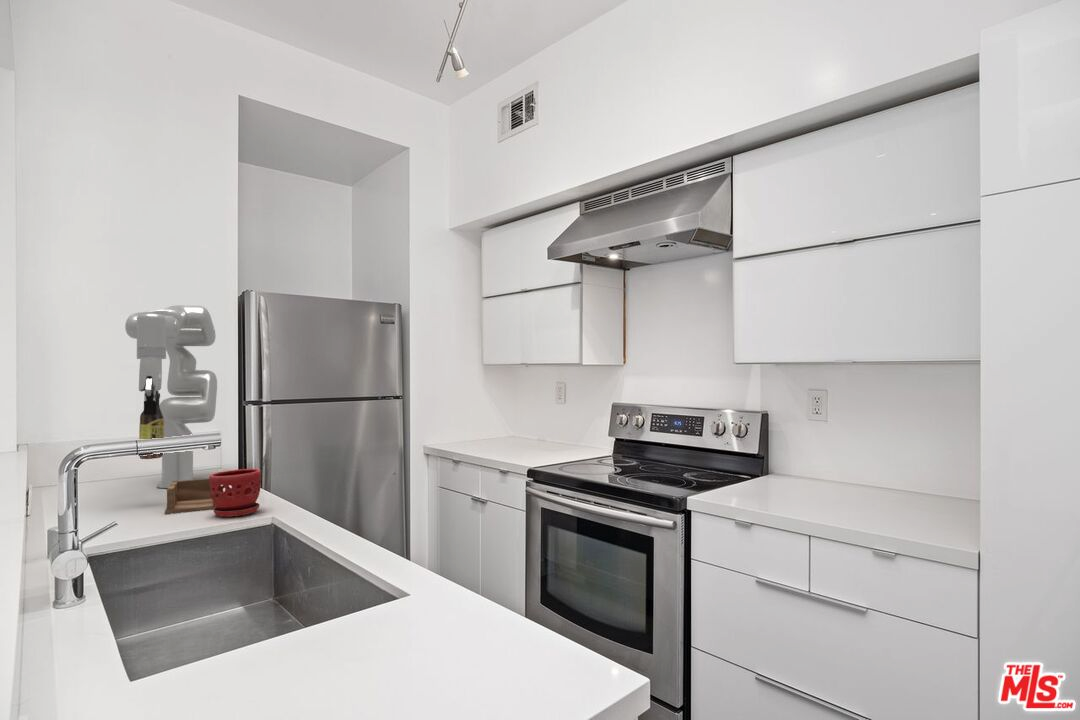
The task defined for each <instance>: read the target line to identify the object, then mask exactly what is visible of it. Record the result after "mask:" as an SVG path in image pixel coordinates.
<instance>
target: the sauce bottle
mask: <svg viewBox="0 0 1080 720" xmlns="http://www.w3.org/2000/svg"><path fill="white" fill-rule="evenodd" d="M143 395H145V393H143ZM160 398H161V393H160V392H159V393H156V401H157V414H150V415H145V414H144V409H143V410H142V412H141V413H140V415H139V425H138V426H139V432H138V435H139V437H138V439H152V438H164V418H163V415H162V412H161V410H160ZM162 456H163V453H160V454H153V455H147V456H140V455H139V458H140V459H141V460H153V459H160V458H162Z"/></svg>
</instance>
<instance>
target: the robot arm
mask: <svg viewBox="0 0 1080 720" xmlns="http://www.w3.org/2000/svg"><path fill="white" fill-rule="evenodd" d="M124 328H125V332H126V334H127V335H128V337H130V338H131V339H136V360H139V369H138V370H139V374H138V378H139V379H138V391H139V392H144V394H145V395H144V394H143V395H144V398H143V399H144V400H143V410H144V414H145V415H150V414H157V401H156V393H160V392H159V391H161V390H162V382H163V381H162V380H163V369H162V367H163V361H162V360H166V359H167V355H168V358H169V367H168V373H167V382H166V383H167V385H166V386H167V387H166V388H167V392H168V394H170V395H171V396H172V397H168V398H165V399H162V401H161V402H159V405H160V410H161V412H162V415H163V418H164V437H172V436H182V435H190V434H192V435H193V433H192V431H191V429H189V427H187V424H198V423H199V424H200V423H203V424H204V423H209V422H211V421H213V419H214V418H215V415H216V408H217V407H216V406H217V394H218V379H217V375H216V373H215V372H213V371H212V370H206V369H205V370H203V369H200V370H199V369H198V370H197V358H196V357H195V356H194V354H193V353H191V352H190V351H189V350H188V349H187V348H186V347H209V346H212V345H213V344H214V343H215V341H216V330H215V329H216V328H215V327H214V323H213V320H212V316H211V314H210V311H208V309H207V308H206V307H204V306H202V305H183V304H181V305H179V304H178V305H177V304H175V305H171V306H168V307H166V308H163V309H162V308H161V309H154V310H148V311H141V312H140V311H139V312H134V313H133V314H130V315H129V316H128V317H127V319H126V321H125V327H124ZM173 396H174V397H173ZM184 480H196V478H194V450H193V451H185V452H174V453H164V454H163V456H162V457H161V482H160V481H159V482H157V483H156V488H159V489H168V487H169V486H170V484H171V483H172V481H184Z"/></svg>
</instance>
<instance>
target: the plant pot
mask: <svg viewBox="0 0 1080 720" xmlns="http://www.w3.org/2000/svg"><path fill="white" fill-rule="evenodd" d="M261 471H262V470H260V469H259V468H241V469H240V468H239V469H233V470H232V469H230V470H226V471H218V472H215V473H212V474H210V475H209V483H210V493H211V497H212V500H213V502H214V504H215V506H216V507H217V508H215V509H213V513H214V514H215V515H216V516H218V517H221V518H230V517H231V518H232V517H233V516H235V517H240V516H241V515H242V516H246V514H247V515H251V514H250V513H252V514H254V512H256V511H257V510H258V509H259V508H260V503H258V502H257V500H258V498H259V496H260V492H261V487H262V486H261V484H262V483H261V481H262V472H261ZM230 486H231V487H230Z"/></svg>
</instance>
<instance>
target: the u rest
mask: <svg viewBox="0 0 1080 720" xmlns="http://www.w3.org/2000/svg"><path fill="white" fill-rule="evenodd" d="M195 479H196V478H195ZM215 508H217V507H216V506H215V504H214V502H213V500H212V497H211V493H210V483H209V478H201V479H200V478H199V479H196V480H184V481H172V483H171V484H170V486H169V487H168V488H166V508H165V510H164V515H172V514H171V513H173V514H182V513H181V512H183V513H191V512H192V511H193V512H201V511H200V510H202V511H209V509H212V510H214V509H215ZM193 512H192V513H193Z"/></svg>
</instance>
